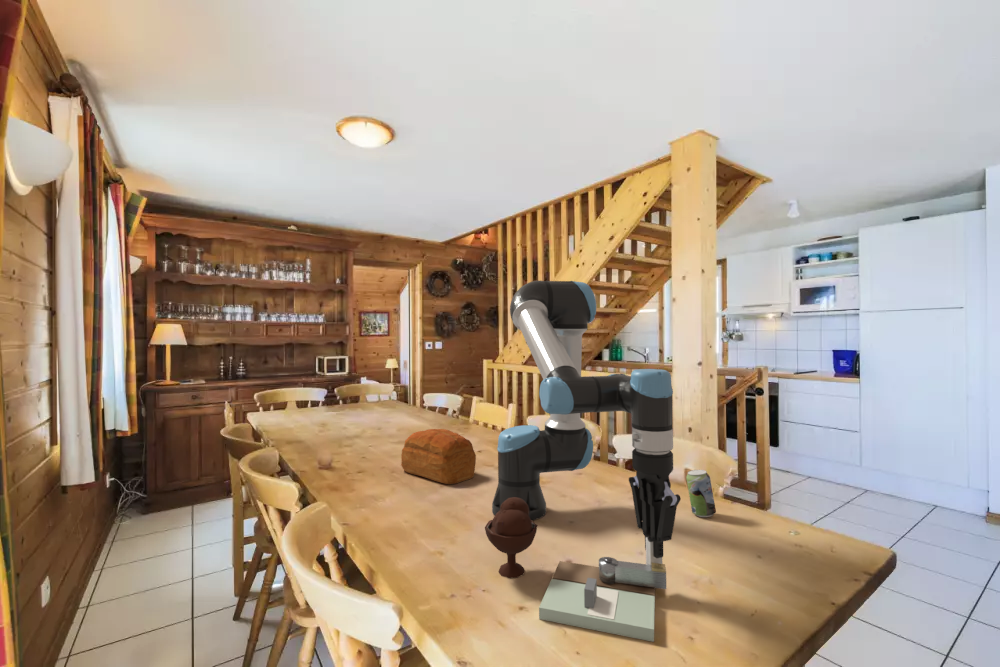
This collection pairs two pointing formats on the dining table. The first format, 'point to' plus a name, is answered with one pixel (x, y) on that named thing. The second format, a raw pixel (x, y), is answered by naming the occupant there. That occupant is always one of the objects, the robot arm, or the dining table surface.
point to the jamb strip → (582, 572)
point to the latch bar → (632, 573)
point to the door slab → (599, 608)
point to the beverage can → (700, 493)
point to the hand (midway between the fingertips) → (654, 571)
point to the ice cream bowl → (511, 533)
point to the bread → (439, 456)
